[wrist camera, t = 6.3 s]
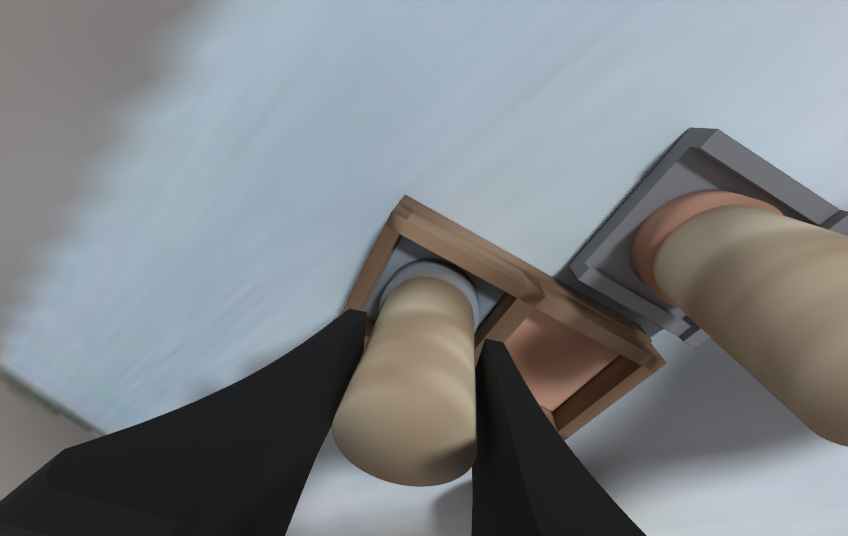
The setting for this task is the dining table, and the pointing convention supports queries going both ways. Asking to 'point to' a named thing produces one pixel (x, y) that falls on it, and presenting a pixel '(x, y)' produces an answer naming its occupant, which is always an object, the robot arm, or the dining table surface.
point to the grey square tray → (677, 175)
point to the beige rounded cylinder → (415, 381)
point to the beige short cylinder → (758, 294)
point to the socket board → (520, 316)
